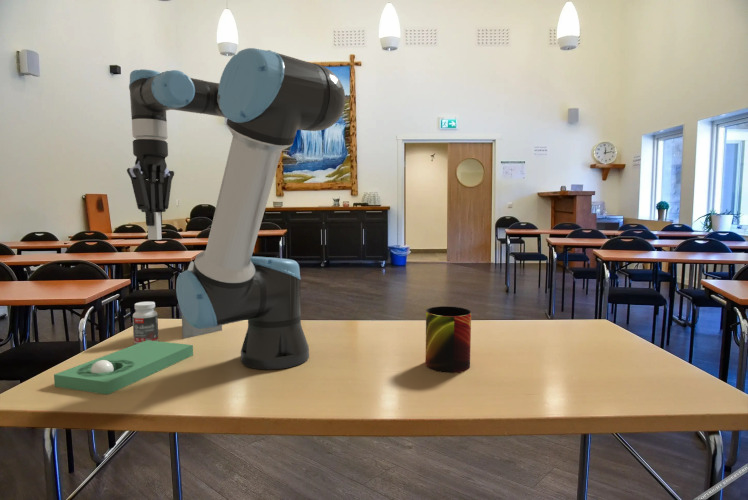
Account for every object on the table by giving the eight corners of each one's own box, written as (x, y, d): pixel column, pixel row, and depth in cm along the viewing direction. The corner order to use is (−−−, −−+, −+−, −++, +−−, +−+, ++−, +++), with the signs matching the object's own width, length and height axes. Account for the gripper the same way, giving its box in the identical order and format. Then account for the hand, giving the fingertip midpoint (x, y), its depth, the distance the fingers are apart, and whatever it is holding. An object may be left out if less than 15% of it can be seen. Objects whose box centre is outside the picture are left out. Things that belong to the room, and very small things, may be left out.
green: (147, 349, 116) (147, 340, 115) (193, 355, 112) (192, 345, 111) (54, 386, 93) (53, 374, 93) (107, 394, 89) (106, 382, 89)
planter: (212, 338, 125) (210, 264, 123) (182, 338, 125) (178, 264, 123) (230, 322, 142) (228, 257, 140) (203, 322, 141) (200, 257, 139)
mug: (458, 351, 114) (459, 302, 113) (476, 372, 101) (477, 316, 99) (418, 352, 113) (418, 302, 112) (430, 373, 100) (431, 317, 98)
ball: (116, 380, 97) (119, 360, 97) (102, 383, 93) (105, 362, 93) (98, 378, 97) (102, 358, 98) (84, 380, 94) (87, 359, 94)
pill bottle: (133, 346, 119) (131, 306, 118) (134, 339, 124) (132, 302, 123) (158, 343, 121) (156, 304, 120) (158, 337, 126) (157, 300, 125)
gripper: (157, 143, 121) (161, 237, 123) (115, 137, 109) (120, 241, 111) (182, 142, 119) (186, 237, 121) (142, 135, 106) (147, 242, 109)
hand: (154, 239), depth 116 cm, fingers closed
